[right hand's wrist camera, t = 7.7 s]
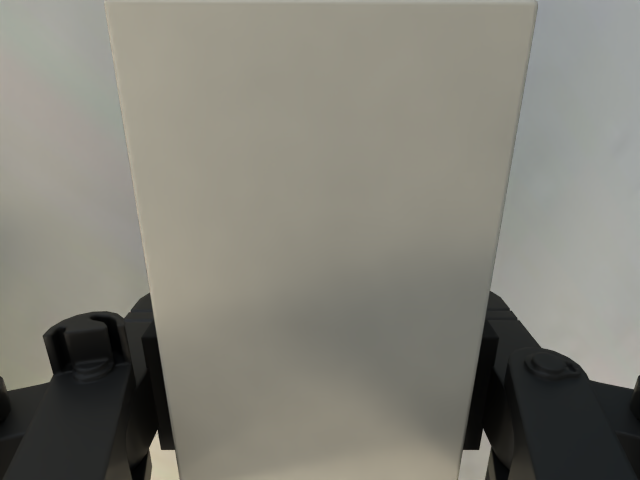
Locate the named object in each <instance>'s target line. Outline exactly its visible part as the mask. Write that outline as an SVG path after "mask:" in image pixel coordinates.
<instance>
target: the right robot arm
mask: <svg viewBox="0 0 640 480" xmlns="http://www.w3.org/2000/svg"><path fill="white" fill-rule="evenodd" d="M43 339H44V342H45V346H46V349H47V353H48V357H49V360H50V364H51V367H52V371H53V374H54V375H53V377H52V379H51V381H50V382H49V383H45V384H41V385H36V386H31V387H26V388H21V389H16V390H11V391H7V390H6V387H5V384H4V381H3V378H2V377H1V376H0V480H150V478H151V470H152V463H151V457H150V451H149V447H150V445H151V443H152V440H153V438H154V436H155V434H156V432H157V429H158V435H159V440H160V446H161V450H175V446H174V440H173V433H172V427H171V421H170V415H169V408H168V402H167V396H166V389H165V383H164V377H163V371H162V364H161V358H160V352H159V345H158V339H157V333H156V327H155V320H154V314H153V308H152V301H151V295H150V293H149V294H147V295H145V296H144V297H142V298H141V299H139V301H138V302H137V303H136V304H135V306H134V307H133V308H132V309H131V312H129V313H128V314H127V316H126V317H125V318H122V317H121V316H120V315H119V314H117V313H112V312H107V311H102V312H89V313H84V314H80V315H76V316H73V317H71V318H68V319H65V320H63V321H61V322H59V323H58V324H56V325H54V326H53V327H51V328H50V329H49V330H48V331H47V332H46V333H45V334H44V335H43ZM483 429H484V431H485V433H486V435H487V437H488V440H489V442H490V444H491V451H490V457H489V462H488V467H487V472H486V477H485V480H640V375H639V376H638V379H637V382H636V385H635V388H634V389H629V388H624V387H619V386H614V385H609V384H604V383H599V382H595V381H591V380H589V378H588V376H587V374H586V373H585V372H584V370H583V369H582V368H581V367H580V365H578V364H577V363H576V362H574V361H573V360H571V359H570V358H568V357H567V356H564V355H562V354H560V353H557V352H555V351H552V350H548V349H543V348H541V347H540V346H539V344H538V343H537V342H536V341H535V339H534V338H533V337H532V336H531V334H530V333H529V332H528V331H527V329H526V328H525V327H524V326H523V324H522V323H521V322H520V321H519V320H517V317H516V316H515V315H514V313H513V312H512V311H510V308H509V307H508V306H507V305H506V303H505V302H504V301H503V300H502V298H501V297H499V296H498V295H496V294H494V293H493V292H491V291H490V292H489V298H488V304H487V310H486V316H485V322H484V328H483V334H482V340H481V345H480V351H479V357H478V363H477V369H476V375H475V381H474V387H473V393H472V399H471V404H470V410H469V416H468V422H467V428H466V434H465V440H464V446H463V450H479V448H480V442H481V437H482V431H483Z"/></svg>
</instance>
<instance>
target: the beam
mask: <svg viewBox="0 0 640 480" xmlns="http://www.w3.org/2000/svg"><path fill="white" fill-rule="evenodd" d="M104 6H105V12H106V19H107V25H108V31H109V37H110V44H111V50H112V56H113V63H114V69H115V75H116V81H117V88H118V94H119V100H120V107H121V113H122V119H123V125H124V132H125V138H126V144H127V151H128V157H129V163H130V169H131V176H132V182H133V188H134V195H135V201H136V207H137V213H138V220H139V226H140V232H141V239H142V245H143V251H144V257H145V264H146V270H147V276H148V283H149V289H150V295H151V301H152V308H153V314H154V320H155V327H156V333H157V339H158V345H159V352H160V358H161V364H162V371H163V377H164V383H165V389H166V396H167V402H168V408H169V415H170V421H171V427H172V433H173V440H174V446H175V452H176V459H177V465H178V471H179V477H180V480H458V475H459V469H460V463H461V458H462V452H463V446H464V440H465V434H466V428H467V422H468V416H469V410H470V404H471V399H472V393H473V387H474V381H475V375H476V369H477V363H478V357H479V351H480V345H481V340H482V334H483V328H484V322H485V316H486V310H487V304H488V298H489V292H490V286H491V280H492V275H493V269H494V263H495V257H496V251H497V245H498V239H499V233H500V227H501V221H502V216H503V210H504V204H505V198H506V192H507V186H508V180H509V174H510V168H511V162H512V157H513V151H514V145H515V139H516V133H517V127H518V121H519V115H520V109H521V103H522V98H523V92H524V86H525V80H526V74H527V68H528V62H529V56H530V50H531V44H532V39H533V33H534V27H535V21H536V15H537V9H538V3H537V1H535V0H105V2H104Z"/></svg>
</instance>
